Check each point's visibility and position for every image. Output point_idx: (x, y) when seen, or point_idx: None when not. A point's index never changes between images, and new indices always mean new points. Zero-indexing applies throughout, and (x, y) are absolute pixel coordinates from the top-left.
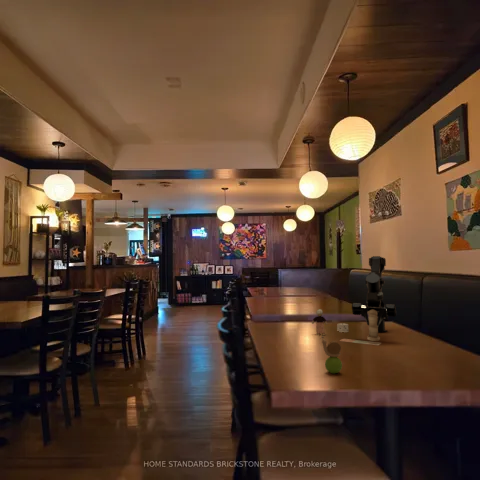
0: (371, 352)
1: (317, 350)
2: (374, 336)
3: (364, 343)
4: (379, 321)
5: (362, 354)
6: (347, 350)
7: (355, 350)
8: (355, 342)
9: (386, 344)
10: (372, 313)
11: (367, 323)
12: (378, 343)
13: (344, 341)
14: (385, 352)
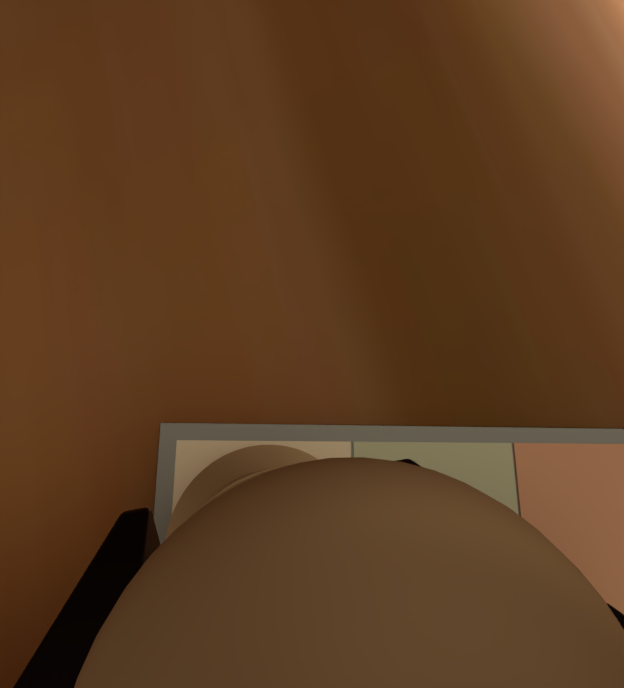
0: (194, 113)
1: (614, 10)
2: (236, 477)
3: (362, 451)
4: (70, 595)
5: (252, 13)
6: (417, 101)
7: (354, 130)
8: (472, 450)
9: None
10: (323, 459)
11: (412, 462)
12: None
13: (598, 444)
14: (56, 170)
